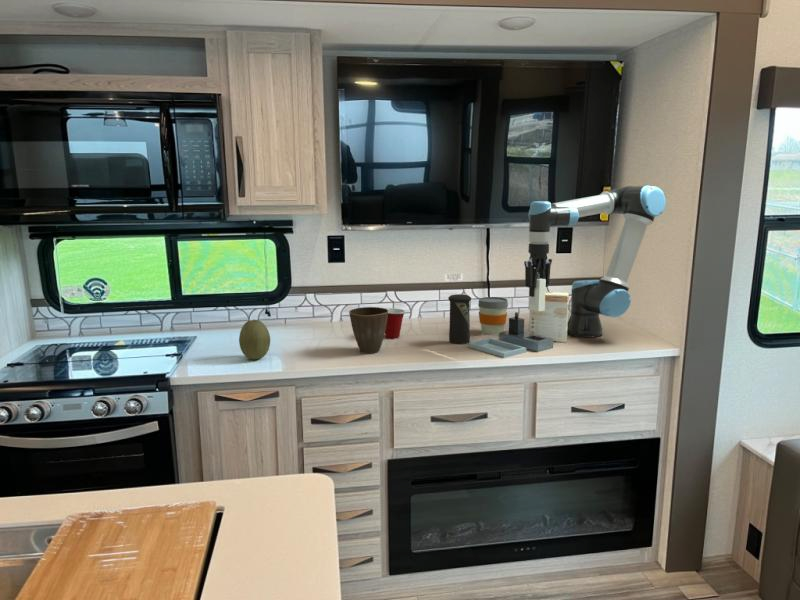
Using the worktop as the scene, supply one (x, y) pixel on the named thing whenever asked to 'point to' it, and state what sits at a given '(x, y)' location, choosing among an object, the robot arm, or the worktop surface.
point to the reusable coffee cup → (492, 314)
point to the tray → (497, 347)
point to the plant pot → (369, 327)
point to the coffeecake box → (551, 317)
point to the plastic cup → (394, 322)
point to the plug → (539, 295)
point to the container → (459, 319)
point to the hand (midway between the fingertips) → (536, 304)
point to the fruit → (254, 339)
